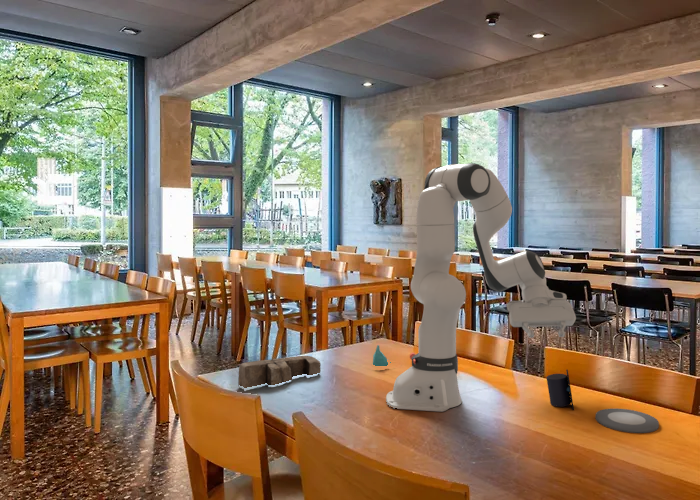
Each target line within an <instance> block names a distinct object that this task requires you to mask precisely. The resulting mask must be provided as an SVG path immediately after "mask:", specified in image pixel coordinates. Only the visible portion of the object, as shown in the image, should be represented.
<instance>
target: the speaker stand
mask: <svg viewBox="0 0 700 500" xmlns="http://www.w3.org/2000/svg"><path fill="white" fill-rule="evenodd" d="M595 421H596V422H597V423H599V425H601V426H603V427H606V428H609V429H611V430H615V431H619V432H623V433H631V434H632V433H633V434H647V433H653V432H655V431H657V430H659V427H660V425H659V424H660V423H659V420H658V419H657V418H656V417H654V416H652V415H650V414H647V413H644V412H642V411H638V410H633V409H627V408H605V409H601V410H597V412H596V413H595Z"/></svg>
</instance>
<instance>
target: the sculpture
mask: <svg viewBox="0 0 700 500" xmlns="http://www.w3.org/2000/svg"><path fill="white" fill-rule="evenodd" d="M238 367H239V368H238V382H237V383H238V386H239V385H240V386H243V387H244V388H247V387H252V386H257V385H261V384H265V383H267V384H268V385H275V384H279V383H282V382H286V381H289V380H292V377H293V376H297V375H302V374H307V375H313V374H317V373H320V374H321V369H322V368H321V361H320V360H319V359H318V358H316V357H314V356H311V355H299V356H297V355H296V356H289V357H280V358H279V357H278V358H273V359H265V360H255V361H254V360H253V361H248V362H246V361H245V362H243V363H241V364H240V365H239V366H238ZM292 381H293V380H292Z"/></svg>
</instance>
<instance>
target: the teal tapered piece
mask: <svg viewBox="0 0 700 500" xmlns="http://www.w3.org/2000/svg"><path fill="white" fill-rule="evenodd" d="M387 360H388V358H387V356H385V355H384V353H383V352H382V351H381V349H380V345H379V344H378V345H376V349H375V352H374V353H373V356H372V364H373V365H375V366H387V365H388V362H387ZM390 363H391V362H390Z"/></svg>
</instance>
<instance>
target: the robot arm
mask: <svg viewBox="0 0 700 500" xmlns="http://www.w3.org/2000/svg"><path fill="white" fill-rule="evenodd" d="M463 201H465V202H466V201H469V202H470V204H471V207H472V209H473V211H474V212H475V217H476V219H475V222H474V223H473V225H472V232H473V237H474V240H475V245H476V249H477V252H478V256H479V258H480V262H481V265H482V269H483V272H484V279H485V282H486V284H487V286H488V288H489V289H491V290H493V291H496V292H499V293H501V292H504V291H506V290H509V289H510V288H512V287H515V286H518V285H519V288H520V289H521V297H522V300H510V301H509V302H507V303H506V306H505V307H506V310H507V311H508V312H509V315H508V316H509V325H510V326H512V327H513V328H522V330H523V331H524V332H525V333H526V334H527V336H528V337H527V338H530V339H531V338H534V337H535V333H534V330H533V329H532V330H531V329H530V328H531V327H532V328H533V327H535V328H536V327H559V328H560V329H558V332H557V335H558V337H559V338H564V337H565V335H566V332H565V328H566V327H570V326H571V327H572V326H573V325H574V323H575V322H576V320H577V316H576V313H575V310H574V308H573V307H572V303H570V302H569V301H568V300H567V298H568V297H567V294H566V293H564V292H559V291H556V290H551V289H550V288H549V286H547V278H546V270H545V267H544V266H545V265H544V264H543V261H542V259H541V257H540V256H539V254H537V253H535V252H533V251H532V250H524V251H521V252H519V253H518V252H517V253H516V254H513V255H511V256H507V257H505V258H502V259H499V260H496V259H495V258H494V254H493V250H492V248H491V245H490V241H491V239H492V237H494V235H495V234H496V233H498V232H499V231H500V230H501V229H502V228H504V227H505V226H506V225H507V223H508V221H509V220H510V218H511V217H512V214H513V213H512V211H513V207H512V203H511V200H510V198H509V196H508V193H507V192H506V190H505V188H504V186H503V185H502V182H501V181H500V180H499V179H498V177H497V175H496V174H495V173H494V172H493V171H492V170H491V169H488V168H485V166H484V165H483V166H482V165H481V164H478V163H473V162H469V163H459V164H458V163H451V164H447V165H442V166H437V167H435V168H432V169H431V170H430V171H429V172H428V173H427V175H426V178H425V179H424V187H423V190H422V191H421V192H420V194H419V196H418V201H417V207H416V256H415V263H414V270H413V276H412V278H411V282H410V291H411V293H412V296H414V299H416V301H417V302H419V303H421V305H423V313H422V318H421V322H420V325H419V327H418V332H417V333H418V334H417V335H418V341H417V342H418V344H417V345H418V352H417V353H415V352H410V354H409V360H411V366H410V367H408V369H406V370H404V372H403V371H402V373H401V374H399V375H398V376H396V378H395V380H394V385H393V388H392V389H393V390H391V391H389V392H387V394H386V396H385V401H386V402H387V403H386V405H387V406H388V405H389V406H388V407H390V406H391V407H393V408H392V409H395V408H397V409H398V410H410V411H411V410H413V411H427V412H440V413H441V412H446V411H447V410H449V409H451V408H455V407H458V406H460V405H461V404H462V402H463V401H462V398H461V394H460V389H459V382H458V375H457V374H458V371H459V359H458V355H457V327H458V326H457V325H458V320H459V316H460V310H461V307H462V306H463V305H464V303H465V301H466V298H467V292H466V288H465V286H464V284H463V283H462V282H461V281H460V280H459V279H458V278H457V277H456V276H455V275H453V274H450V273H449V272H450V266H451V261H452V258H453V255H454V254H455V250H456V245H455V244H456V240H455V238H456V237H455V236H456V235H455V231H456V230H455V212H454V208H455V204H456V203H457V202H463ZM391 407H390V408H391Z"/></svg>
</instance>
